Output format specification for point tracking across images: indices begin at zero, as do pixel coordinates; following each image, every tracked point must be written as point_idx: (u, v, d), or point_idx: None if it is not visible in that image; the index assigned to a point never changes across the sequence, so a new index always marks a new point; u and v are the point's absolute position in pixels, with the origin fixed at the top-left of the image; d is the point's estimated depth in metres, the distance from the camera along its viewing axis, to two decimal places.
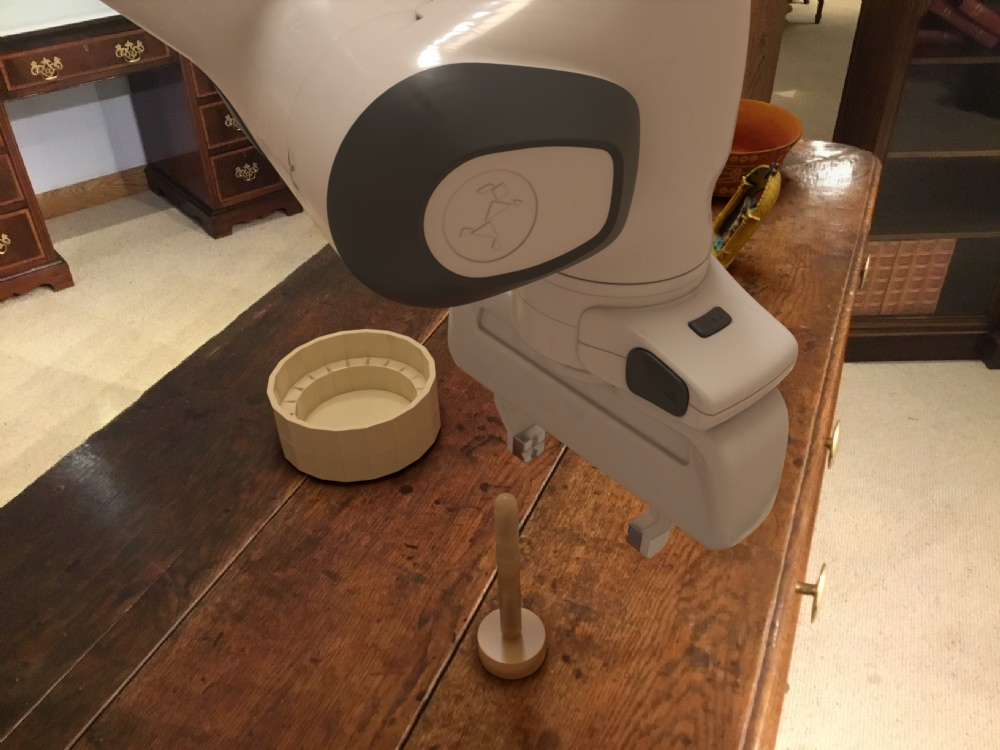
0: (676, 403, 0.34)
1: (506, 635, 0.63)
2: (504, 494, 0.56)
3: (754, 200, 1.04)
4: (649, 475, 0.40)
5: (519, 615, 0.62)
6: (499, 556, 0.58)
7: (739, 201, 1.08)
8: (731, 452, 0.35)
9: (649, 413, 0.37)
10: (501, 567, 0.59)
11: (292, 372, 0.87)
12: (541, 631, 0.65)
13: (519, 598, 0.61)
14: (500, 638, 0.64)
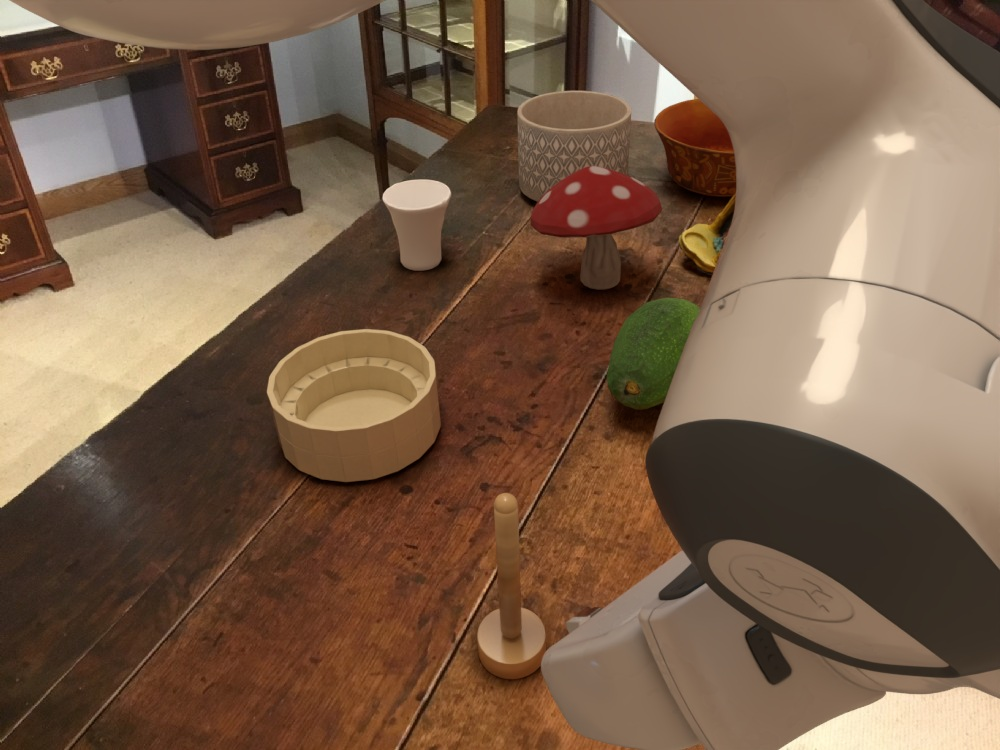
0: (670, 590, 0.32)
1: (506, 635, 0.63)
2: (504, 494, 0.56)
3: None
4: (628, 603, 0.38)
5: (519, 615, 0.62)
6: (499, 556, 0.58)
7: None
8: (618, 653, 0.32)
9: None
10: (501, 567, 0.59)
11: (292, 372, 0.87)
12: (541, 631, 0.65)
13: (519, 598, 0.61)
14: (500, 638, 0.64)
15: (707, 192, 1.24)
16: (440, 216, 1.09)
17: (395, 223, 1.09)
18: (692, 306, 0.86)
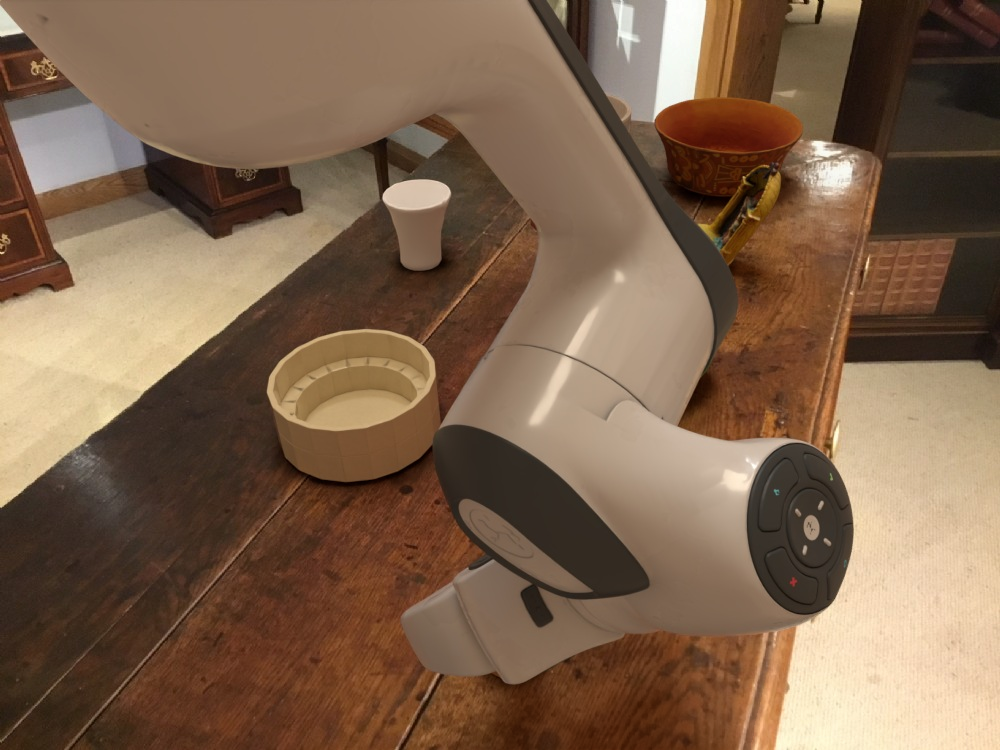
0: (475, 563, 0.46)
1: None
2: None
3: (754, 200, 1.04)
4: None
5: None
6: None
7: (739, 201, 1.08)
8: (441, 607, 0.46)
9: None
10: None
11: (292, 372, 0.87)
12: None
13: None
14: None
15: (707, 192, 1.24)
16: (440, 216, 1.09)
17: (395, 223, 1.09)
18: None
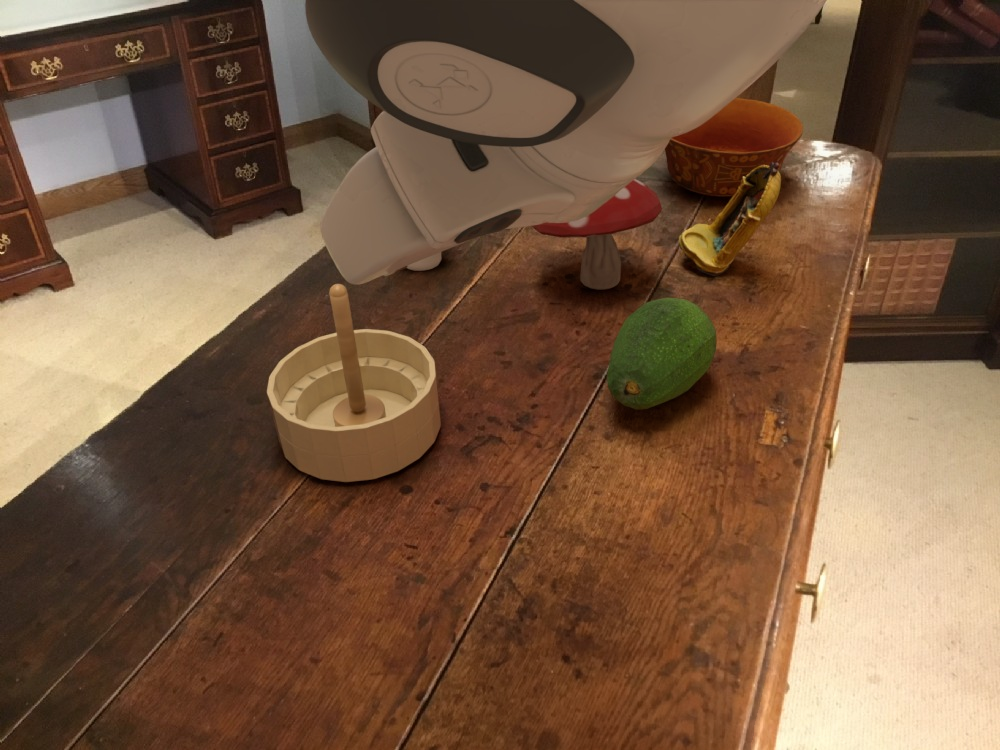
0: None
1: (353, 408, 0.85)
2: (336, 284, 0.77)
3: (754, 200, 1.04)
4: None
5: (361, 391, 0.84)
6: (338, 336, 0.79)
7: (739, 201, 1.08)
8: (359, 171, 0.39)
9: None
10: (340, 345, 0.80)
11: (292, 372, 0.87)
12: (381, 408, 0.86)
13: (359, 375, 0.82)
14: (350, 412, 0.85)
15: (707, 192, 1.24)
16: None
17: None
18: (692, 306, 0.86)
